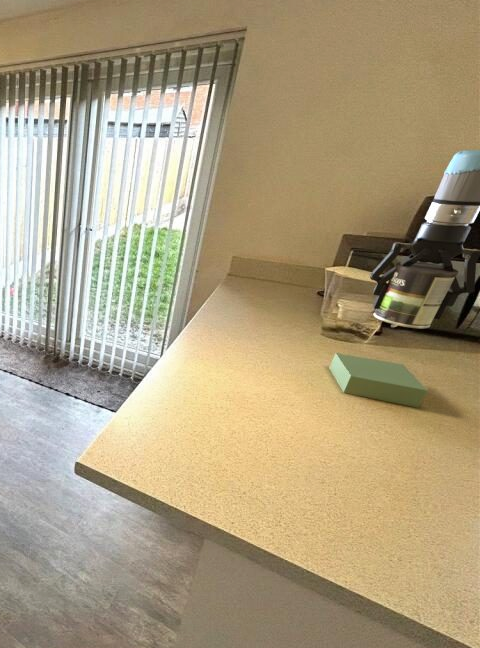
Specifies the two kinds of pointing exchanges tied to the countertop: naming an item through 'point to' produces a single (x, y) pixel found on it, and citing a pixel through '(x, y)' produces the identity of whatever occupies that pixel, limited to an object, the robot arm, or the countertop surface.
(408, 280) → the coffee can
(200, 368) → the countertop surface
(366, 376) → the riser block
